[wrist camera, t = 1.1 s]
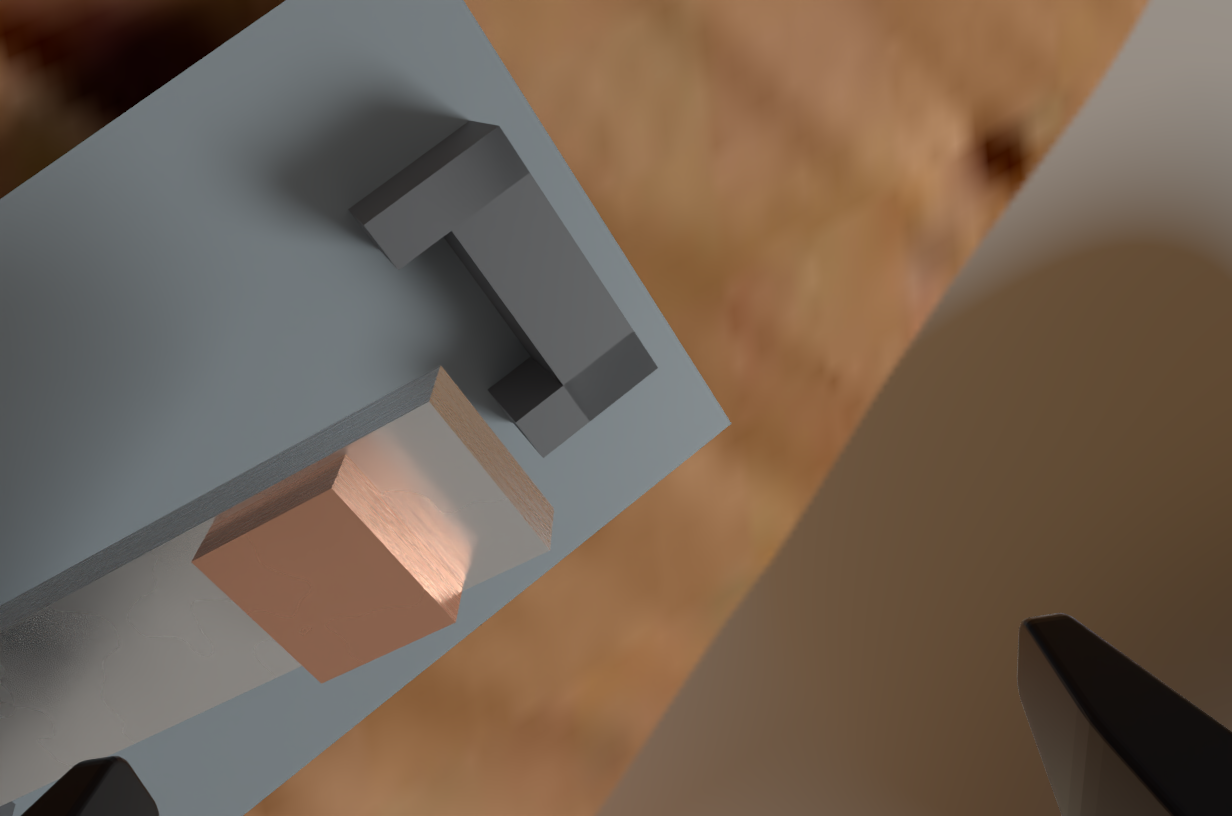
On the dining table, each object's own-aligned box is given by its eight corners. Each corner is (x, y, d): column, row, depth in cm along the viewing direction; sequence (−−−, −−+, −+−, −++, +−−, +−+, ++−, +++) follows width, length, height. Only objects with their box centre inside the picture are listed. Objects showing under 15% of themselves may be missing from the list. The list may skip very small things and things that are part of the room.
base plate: (49, 927, 23) (19, 1084, 20) (-521, 563, 17) (-715, 692, 14) (704, 405, 25) (786, 460, 22) (395, -75, 20) (436, -109, 16)
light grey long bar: (-85, 805, 20) (-154, 905, 18) (-218, 718, 19) (-307, 817, 17) (554, 496, 16) (546, 587, 14) (443, 354, 14) (418, 434, 13)
